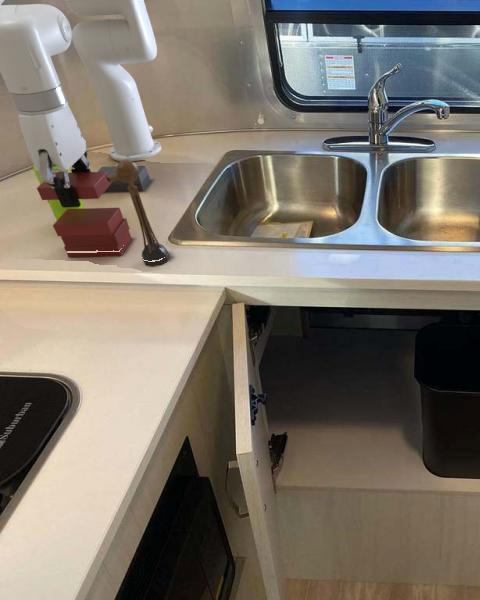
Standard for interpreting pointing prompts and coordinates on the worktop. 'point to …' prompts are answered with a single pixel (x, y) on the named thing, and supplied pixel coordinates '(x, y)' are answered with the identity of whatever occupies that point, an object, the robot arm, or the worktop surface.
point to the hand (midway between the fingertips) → (79, 196)
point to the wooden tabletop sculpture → (140, 214)
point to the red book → (79, 185)
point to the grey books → (119, 186)
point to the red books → (93, 231)
